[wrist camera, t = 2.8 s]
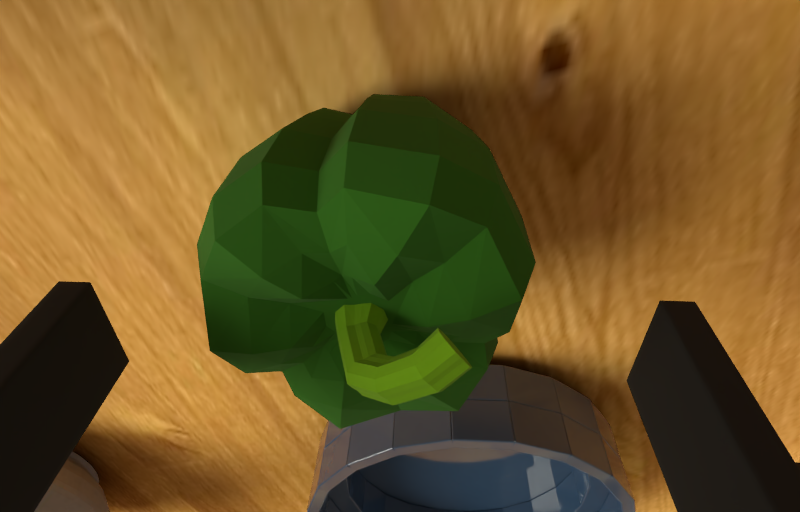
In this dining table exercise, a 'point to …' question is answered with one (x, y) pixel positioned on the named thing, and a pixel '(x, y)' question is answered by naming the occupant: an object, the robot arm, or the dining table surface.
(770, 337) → the dining table surface
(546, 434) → the bowl
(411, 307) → the bell pepper
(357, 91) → the dining table surface
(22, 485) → the robot arm
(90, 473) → the coffee pot
